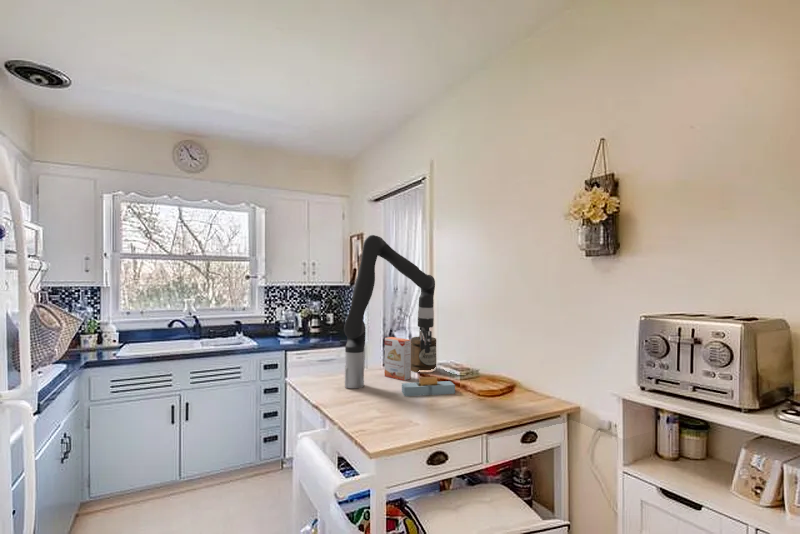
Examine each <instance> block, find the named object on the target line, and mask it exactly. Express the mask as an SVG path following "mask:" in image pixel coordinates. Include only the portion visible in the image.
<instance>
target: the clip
mask: <svg viewBox="0 0 800 534" xmlns="http://www.w3.org/2000/svg"><path fill="white" fill-rule="evenodd" d="M418 378H419V379H418V383H419V386H425V385H431V386H433V385H437V382H438V377H437V376H424V377H423V376H420V377H418Z"/></svg>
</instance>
